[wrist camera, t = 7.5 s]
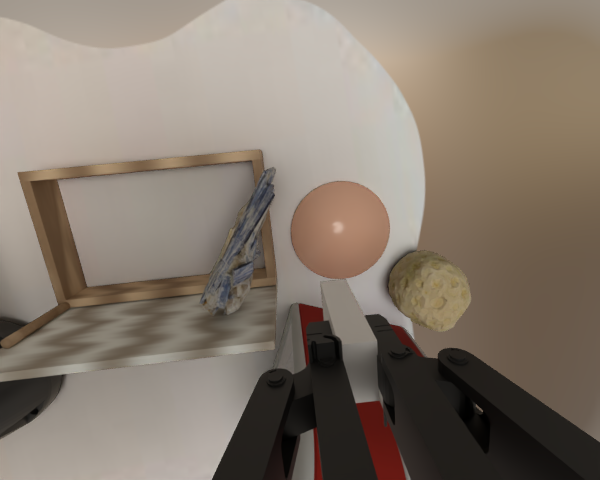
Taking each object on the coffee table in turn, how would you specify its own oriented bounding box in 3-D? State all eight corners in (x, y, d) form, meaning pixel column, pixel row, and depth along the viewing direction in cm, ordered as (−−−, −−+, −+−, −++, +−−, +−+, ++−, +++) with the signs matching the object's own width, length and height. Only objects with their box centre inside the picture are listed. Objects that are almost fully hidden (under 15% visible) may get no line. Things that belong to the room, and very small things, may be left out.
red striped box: (292, 300, 42) (309, 521, 16) (408, 327, 44) (597, 562, 18) (263, 398, 45) (238, 715, 19) (372, 419, 47) (485, 731, 21)
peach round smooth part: (296, 282, 41) (296, 283, 41) (286, 186, 38) (286, 186, 38) (389, 271, 42) (390, 273, 41) (386, 176, 39) (388, 176, 38)
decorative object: (402, 238, 44) (379, 257, 36) (481, 251, 39) (475, 278, 31) (395, 295, 47) (372, 325, 39) (468, 315, 42) (459, 354, 34)
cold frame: (83, 302, 40) (-43, 386, 25) (45, 172, 36) (-133, 174, 21) (277, 280, 41) (274, 349, 25) (262, 151, 37) (248, 139, 21)
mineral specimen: (203, 301, 33) (238, 316, 34) (183, 312, 25) (230, 332, 25) (259, 184, 35) (291, 199, 36) (257, 158, 27) (299, 178, 27)
